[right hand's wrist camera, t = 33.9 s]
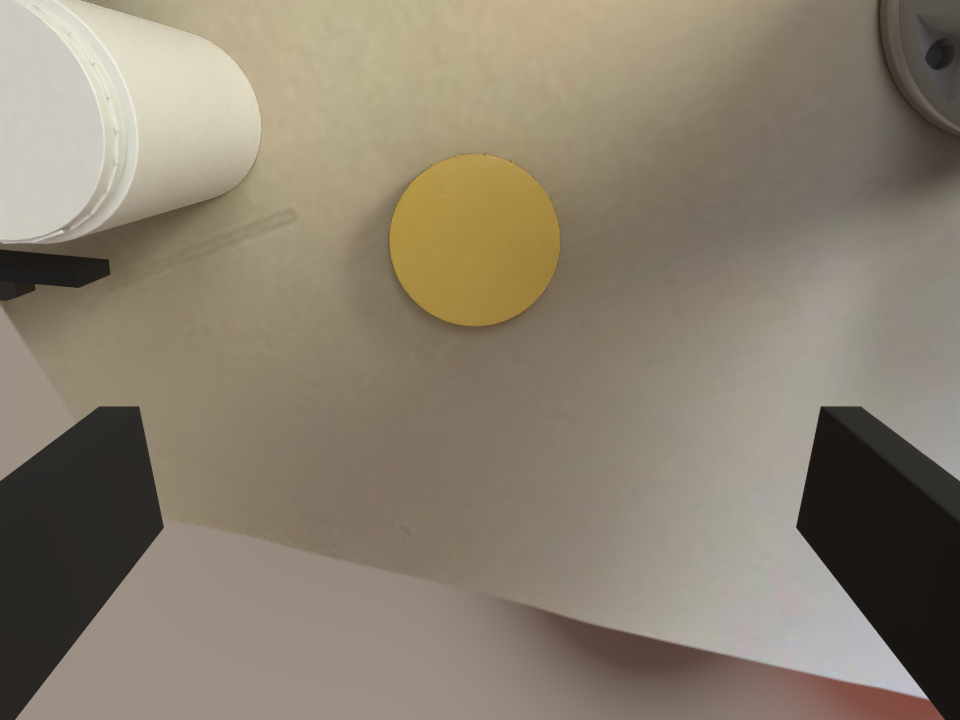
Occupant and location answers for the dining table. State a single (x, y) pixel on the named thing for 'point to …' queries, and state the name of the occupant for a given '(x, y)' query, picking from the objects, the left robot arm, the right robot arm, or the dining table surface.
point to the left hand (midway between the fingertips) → (77, 122)
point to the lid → (474, 240)
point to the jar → (112, 120)
